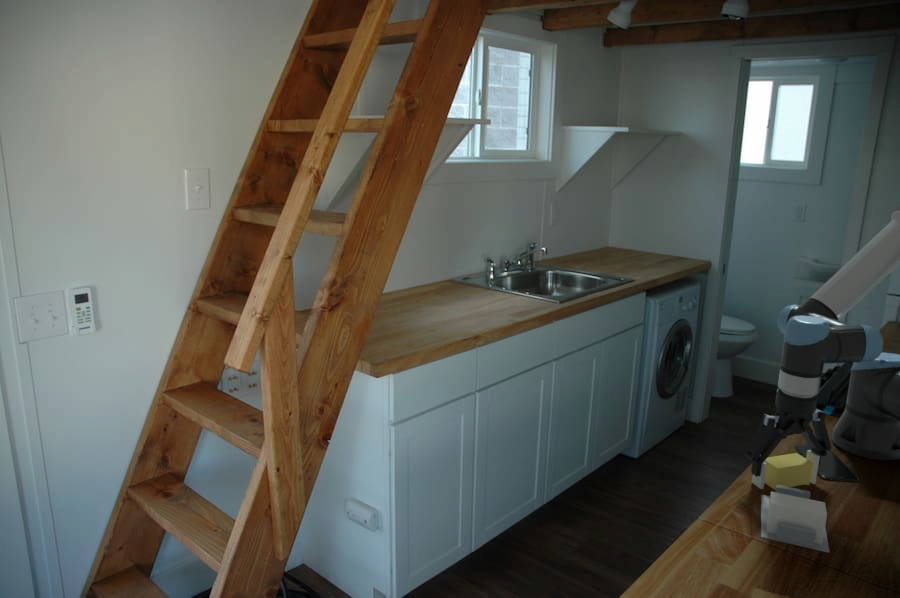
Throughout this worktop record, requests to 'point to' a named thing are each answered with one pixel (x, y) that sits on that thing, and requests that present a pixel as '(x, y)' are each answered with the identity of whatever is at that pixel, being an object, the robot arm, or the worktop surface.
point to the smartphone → (830, 466)
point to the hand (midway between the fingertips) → (783, 484)
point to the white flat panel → (796, 513)
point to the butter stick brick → (788, 470)
